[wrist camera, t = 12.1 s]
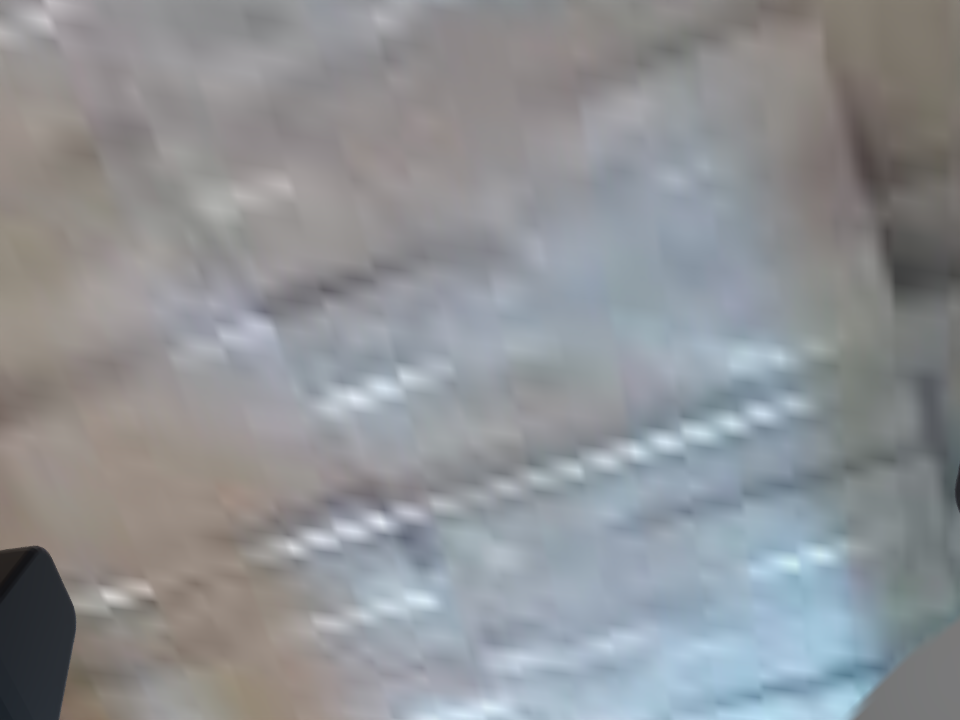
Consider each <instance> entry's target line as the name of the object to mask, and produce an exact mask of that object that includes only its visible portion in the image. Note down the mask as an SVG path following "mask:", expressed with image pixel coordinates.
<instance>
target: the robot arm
mask: <svg viewBox="0 0 960 720" xmlns="http://www.w3.org/2000/svg"><path fill="white" fill-rule="evenodd" d="M955 498H956V503H957V507H958V510H959V512H960V464H959V469H958V474H957V479H956V484H955ZM75 632H76V614H75V610H74V606H73V604H72V601H71V599H70V597H69V595H68V593H67V590H66V588H65V586H64V584H63V582H62V579H61V577H60V575H59V573H58V571H57V568H56V566H55V564H54V562H53V560H52V558H51V556H50V554H49V553H48V552H47V551H46V550H45V549H44V548H42V547H39V546H28V547H21V548H13V549H6V550H1V551H0V720H59V717H60V712H61V707H62V701H63V696H64V691H65V686H66V680H67V675H68V670H69V664H70V659H71V654H72V648H73V643H74V638H75Z"/></svg>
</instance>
